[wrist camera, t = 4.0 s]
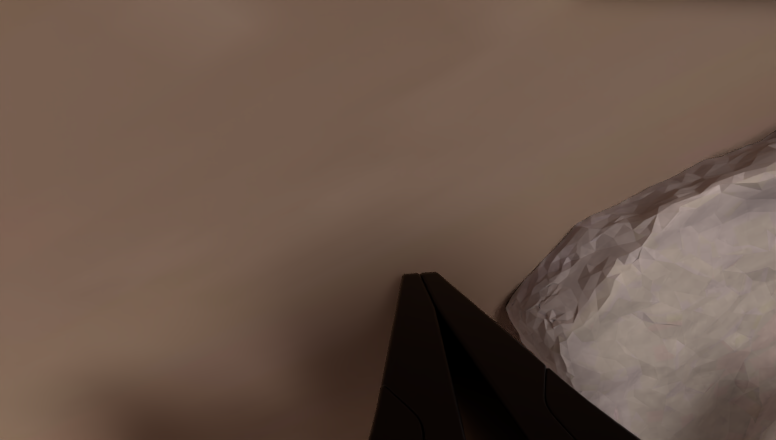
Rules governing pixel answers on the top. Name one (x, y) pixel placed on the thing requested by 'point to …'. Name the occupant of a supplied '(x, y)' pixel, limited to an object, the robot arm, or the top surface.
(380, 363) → the top surface
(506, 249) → the top surface
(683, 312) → the stone block
